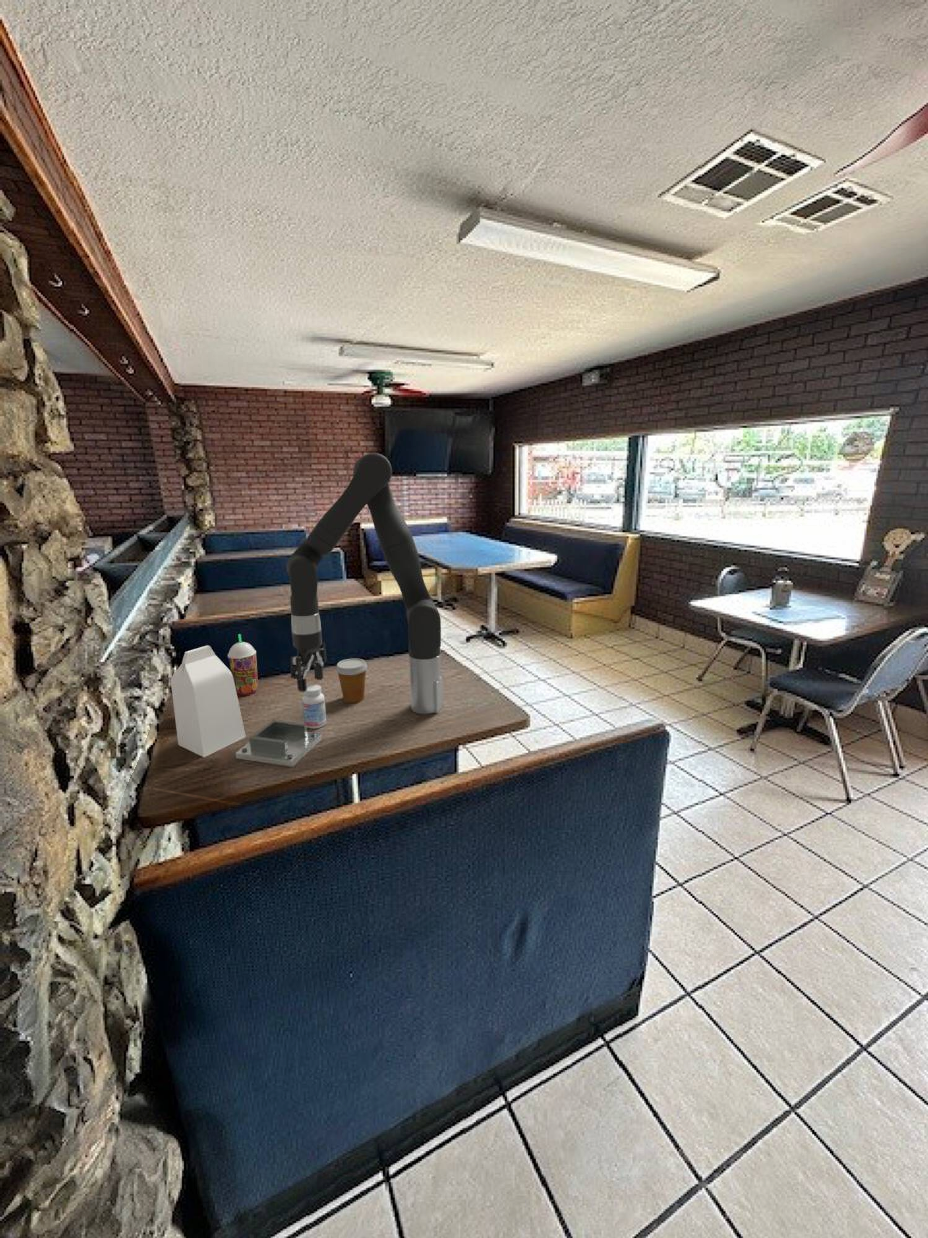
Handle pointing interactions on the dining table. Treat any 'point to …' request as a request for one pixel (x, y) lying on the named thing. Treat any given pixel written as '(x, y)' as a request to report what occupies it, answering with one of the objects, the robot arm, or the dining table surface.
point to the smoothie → (243, 667)
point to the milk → (205, 703)
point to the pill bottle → (314, 707)
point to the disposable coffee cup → (352, 679)
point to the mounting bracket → (279, 743)
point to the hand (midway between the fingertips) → (311, 684)
